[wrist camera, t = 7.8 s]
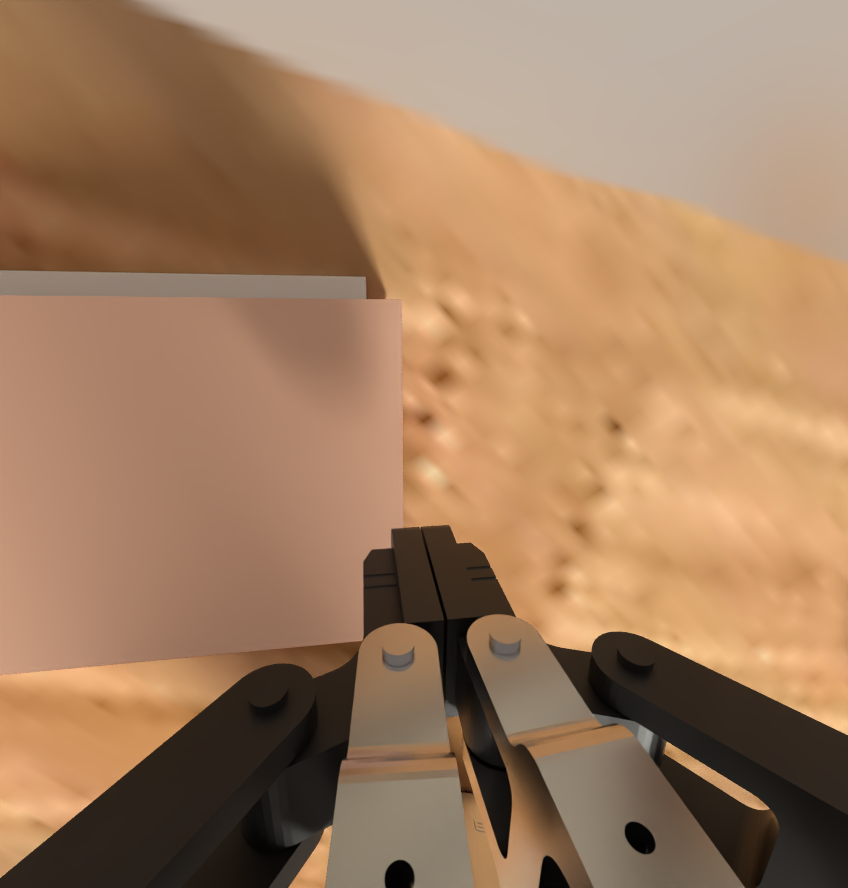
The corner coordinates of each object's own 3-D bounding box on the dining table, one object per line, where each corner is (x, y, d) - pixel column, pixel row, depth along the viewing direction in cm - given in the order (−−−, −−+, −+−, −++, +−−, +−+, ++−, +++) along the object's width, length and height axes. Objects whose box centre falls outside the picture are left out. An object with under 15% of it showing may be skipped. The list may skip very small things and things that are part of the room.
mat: (40, 605, 21) (34, 610, 20) (-63, 269, 16) (-73, 269, 16) (375, 579, 23) (375, 584, 22) (365, 277, 18) (365, 276, 18)
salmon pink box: (395, 566, 22) (54, 591, 20) (391, 302, 18) (-32, 298, 16) (404, 636, 17) (-43, 679, 15) (401, 299, 14) (-198, 292, 11)
